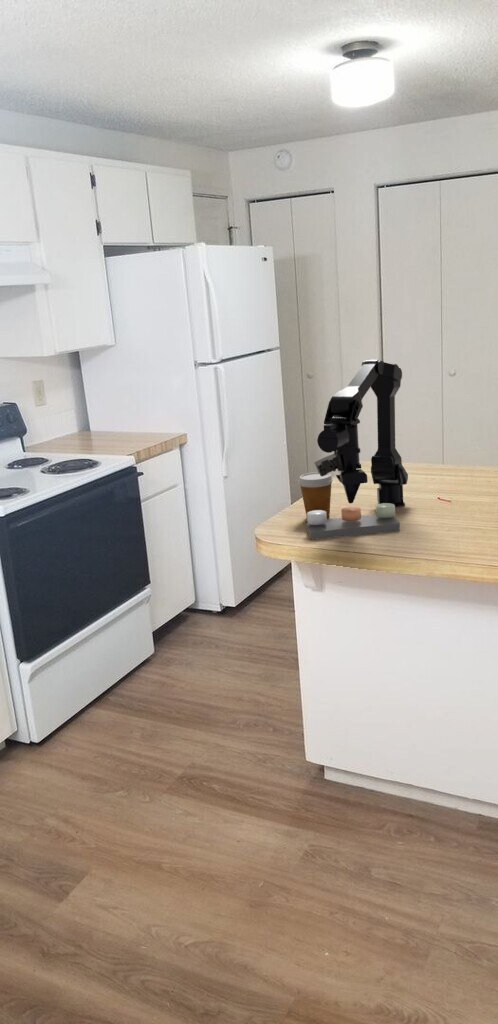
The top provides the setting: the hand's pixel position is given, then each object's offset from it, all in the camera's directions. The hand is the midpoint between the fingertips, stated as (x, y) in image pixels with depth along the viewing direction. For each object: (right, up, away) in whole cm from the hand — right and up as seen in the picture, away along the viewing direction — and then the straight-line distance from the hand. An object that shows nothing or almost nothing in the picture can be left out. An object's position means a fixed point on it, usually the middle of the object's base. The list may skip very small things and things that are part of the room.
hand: (350, 502), depth 214 cm
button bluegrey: (-9, -5, +1) cm, 10 cm away
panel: (+1, -7, +2) cm, 7 cm away
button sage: (+9, -3, +1) cm, 10 cm away
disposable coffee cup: (-7, -4, +15) cm, 17 cm away
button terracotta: (0, -4, +1) cm, 4 cm away
